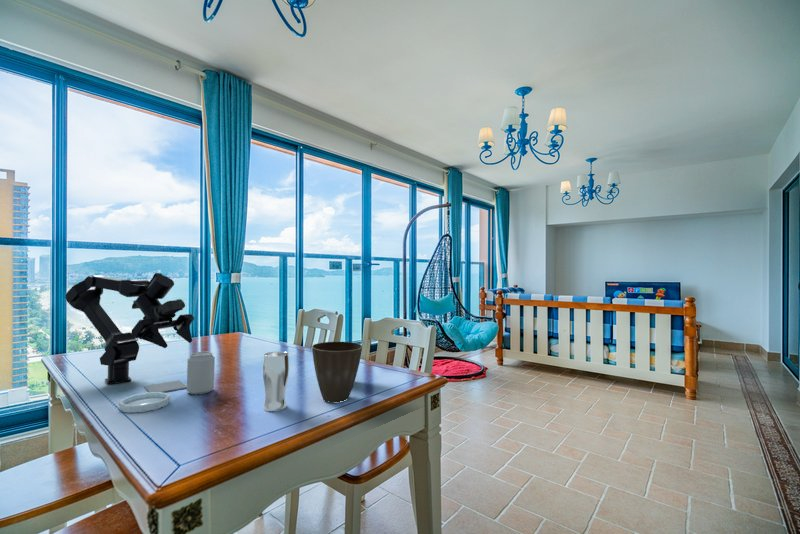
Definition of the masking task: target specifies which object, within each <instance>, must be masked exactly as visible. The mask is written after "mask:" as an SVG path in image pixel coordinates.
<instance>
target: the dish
mask: <svg viewBox="0 0 800 534" xmlns="http://www.w3.org/2000/svg"><path fill="white" fill-rule="evenodd" d="M170 401H171V394H169V392H164V393H163V392H144V393H138V394H137V393H136V394H133V395H131V396H127V397H124V398H123V399H121V400H119V402H118V403H119V411H120V412H122V413H126V412H127V413H131V414H136V413H137V412H139V413H146V411H147V412H151V410H152V411H155V409H156V410H159V409H162V408H163V407H166V406H168V405H169V404H170ZM161 407H162V408H161Z"/></svg>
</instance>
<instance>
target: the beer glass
mask: <svg viewBox="0 0 800 534" xmlns="http://www.w3.org/2000/svg"><path fill="white" fill-rule="evenodd" d="M289 358H290V356H289V352H287V351H269V352H266V353H263V363H262V379H263V380H262V381H263V385H264V393H265V395H264V403H263V411H265V412H269V411H271V412H272V411H275V412H280V411H279V410H281V411H283V410H285V409H286V408H287V401H286V392H287V391H286V389H287V385H288V379H289V372H290V371H289V370H290V359H289ZM282 409H283V410H282ZM271 412H270V413H271Z"/></svg>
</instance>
